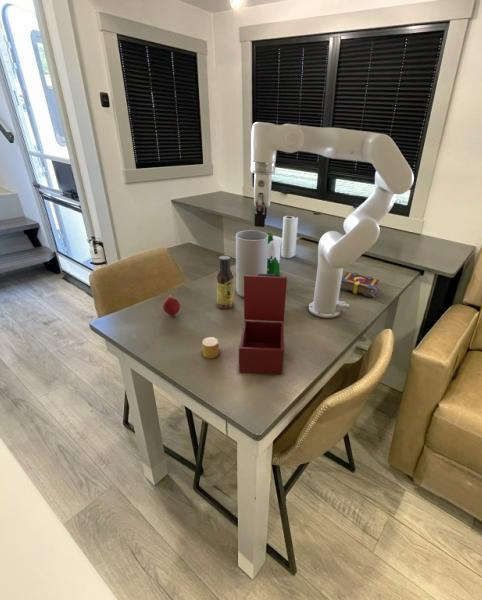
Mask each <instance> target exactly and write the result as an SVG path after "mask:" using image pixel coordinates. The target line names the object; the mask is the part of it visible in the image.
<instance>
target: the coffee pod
mask: <svg viewBox="0 0 482 600" xmlns="http://www.w3.org/2000/svg"><path fill="white" fill-rule="evenodd" d="M201 343H202V355H203V356H204V358H207V359H214V358H216V357H218V356H219V354H220V348H219V347H220V346H219V339H218V338H216V337H214V336H209V337H205V338H203V340H202V342H201Z"/></svg>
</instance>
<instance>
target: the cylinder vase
mask: <svg viewBox="0 0 482 600" xmlns="http://www.w3.org/2000/svg"><path fill="white" fill-rule="evenodd" d="M266 233H267V232H265V231H261V230H253V229H248V230H241V231H238V232H236V233H235V276H236V278H235V279H236V280H235V281H236V282H235V283H236V286H235V287H236V293H237V294H238V296H240V297H242V298H244V275H255V276H258V274H267V254H268V235H267V234H266Z"/></svg>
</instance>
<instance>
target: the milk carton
mask: <svg viewBox="0 0 482 600" xmlns="http://www.w3.org/2000/svg"><path fill="white" fill-rule="evenodd" d="M265 233H266V234H267V235H268V254H267V274H274V277H277V276H278V275H280V262H281V248H282V237H280V236H277V235H274V234H273V233H271V232H265Z"/></svg>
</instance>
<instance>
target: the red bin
mask: <svg viewBox="0 0 482 600" xmlns="http://www.w3.org/2000/svg"><path fill="white" fill-rule="evenodd" d="M284 322H285V321H284ZM284 322H282V321H262V320H244V319H243V326H242V330H241V331H242V332H241V335H240V340H239V346H238V373H242V374H245V373H246V374H266V375H283V369H284V368H283V366H284V352H285V346H284V345H285V323H284Z"/></svg>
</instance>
